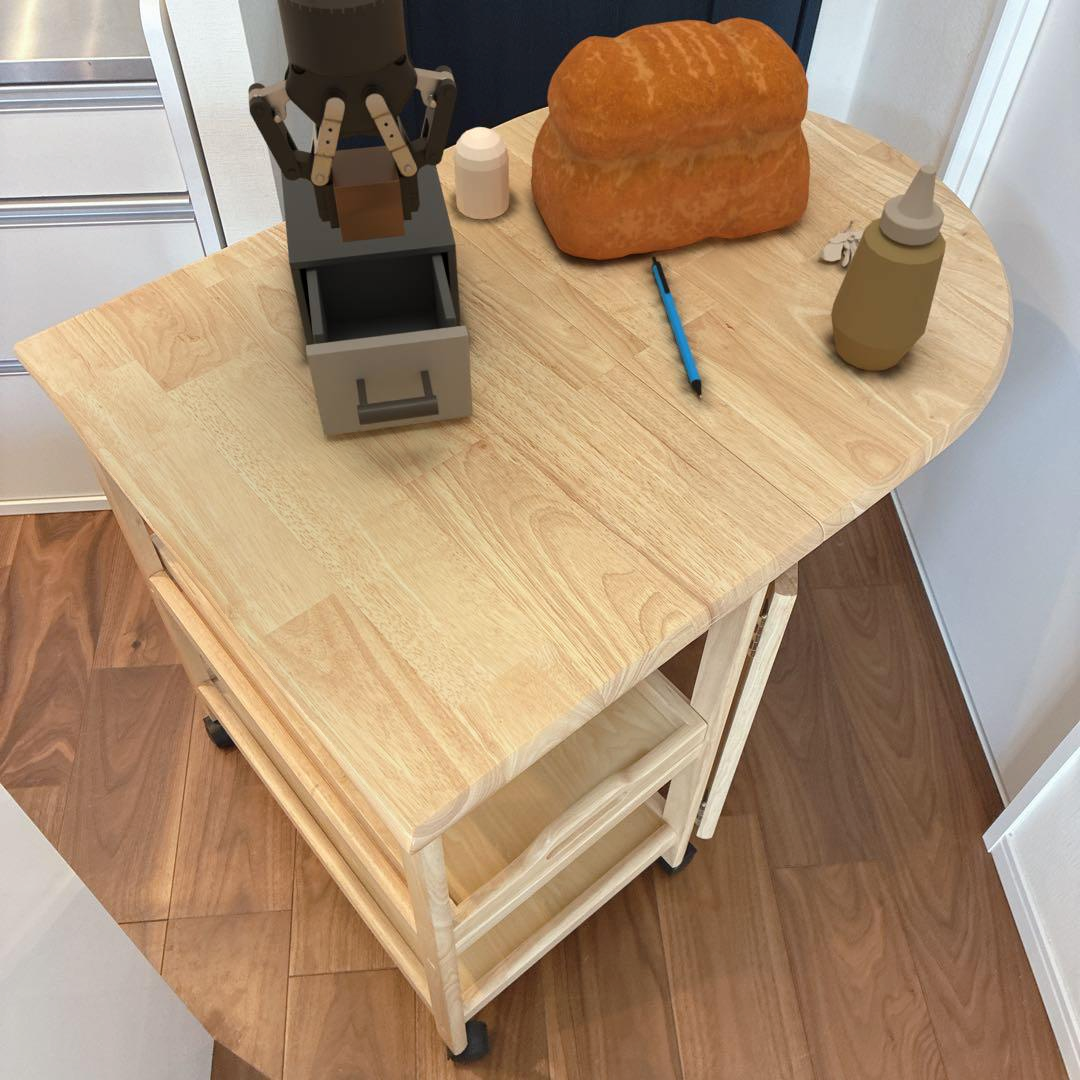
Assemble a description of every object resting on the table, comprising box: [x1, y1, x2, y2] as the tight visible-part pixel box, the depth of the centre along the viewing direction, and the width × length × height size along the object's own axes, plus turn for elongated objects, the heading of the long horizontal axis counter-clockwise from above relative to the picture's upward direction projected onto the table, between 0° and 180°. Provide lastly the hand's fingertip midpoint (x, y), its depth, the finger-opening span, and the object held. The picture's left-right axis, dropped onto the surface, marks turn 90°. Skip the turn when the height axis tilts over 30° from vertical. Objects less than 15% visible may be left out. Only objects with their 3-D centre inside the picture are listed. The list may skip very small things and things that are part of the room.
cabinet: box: [280, 164, 462, 345], centre depth 93 cm, size 14×13×10 cm
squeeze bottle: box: [830, 164, 947, 372], centre depth 87 cm, size 8×8×18 cm
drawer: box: [305, 253, 474, 437], centre depth 86 cm, size 18×12×9 cm
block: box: [331, 145, 405, 242], centre depth 75 cm, size 4×4×4 cm
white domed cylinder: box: [453, 126, 510, 220], centre depth 104 cm, size 5×5×8 cm
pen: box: [651, 255, 703, 398], centre depth 95 cm, size 1×19×1 cm, turn 8°
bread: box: [530, 16, 811, 261], centre depth 100 cm, size 16×26×17 cm, turn 106°
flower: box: [817, 219, 864, 268], centre depth 101 cm, size 8×8×3 cm
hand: (370, 216), depth 77 cm, fingers closed on block, 4 cm apart
